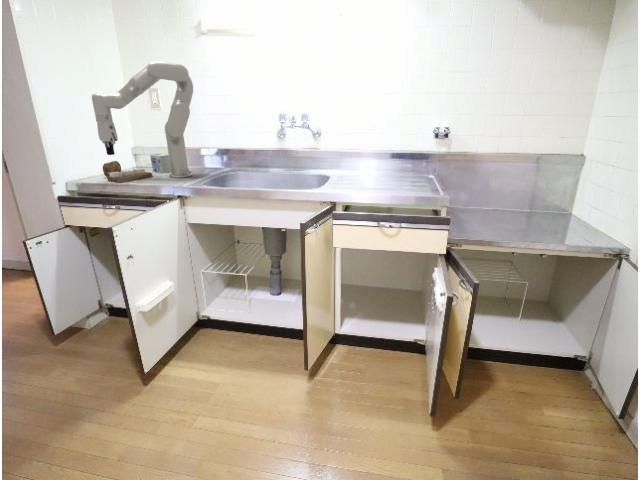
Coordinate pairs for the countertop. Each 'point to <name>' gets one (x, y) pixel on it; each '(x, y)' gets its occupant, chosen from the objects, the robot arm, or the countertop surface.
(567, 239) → the countertop surface
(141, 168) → the end button
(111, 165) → the tin
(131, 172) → the middle button
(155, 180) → the countertop surface
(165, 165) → the light bulb box
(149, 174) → the button board
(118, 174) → the end button
